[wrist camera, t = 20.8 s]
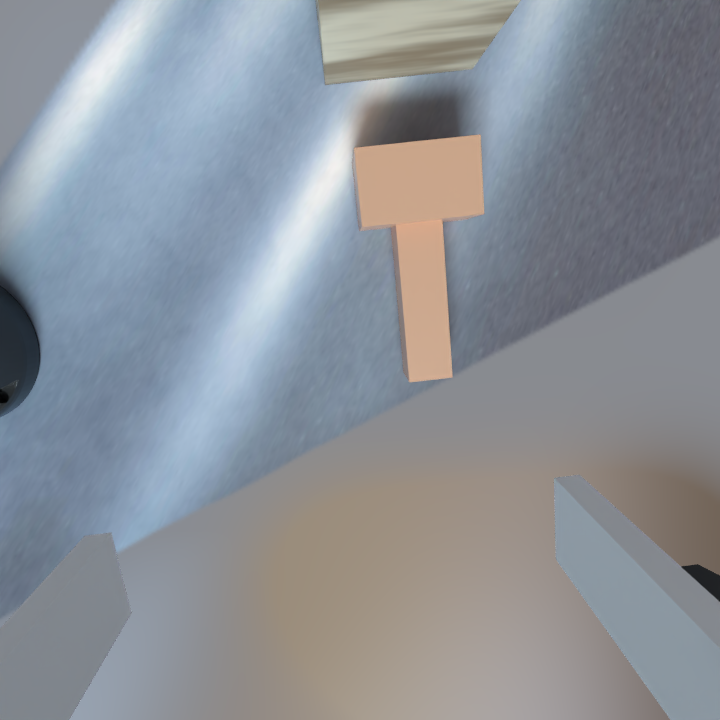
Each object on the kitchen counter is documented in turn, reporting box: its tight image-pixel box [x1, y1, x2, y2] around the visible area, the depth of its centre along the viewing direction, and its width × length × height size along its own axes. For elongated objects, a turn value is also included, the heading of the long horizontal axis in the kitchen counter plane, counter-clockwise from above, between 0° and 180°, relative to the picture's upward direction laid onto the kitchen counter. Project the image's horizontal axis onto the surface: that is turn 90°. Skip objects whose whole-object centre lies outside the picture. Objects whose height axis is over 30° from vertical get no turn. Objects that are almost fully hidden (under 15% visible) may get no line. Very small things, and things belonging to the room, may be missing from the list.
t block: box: [352, 135, 484, 382], centre depth 42 cm, size 20×10×6 cm, turn 6°
